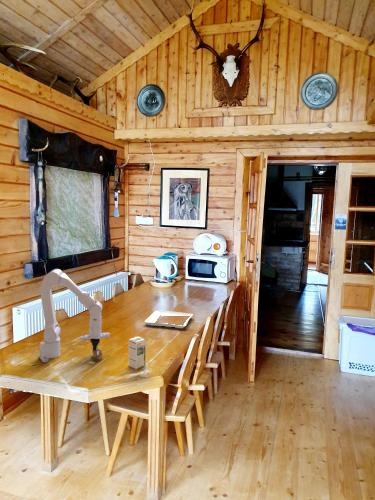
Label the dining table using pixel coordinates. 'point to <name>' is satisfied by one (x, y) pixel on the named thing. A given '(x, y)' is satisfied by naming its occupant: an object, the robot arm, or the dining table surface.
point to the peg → (97, 354)
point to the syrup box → (137, 352)
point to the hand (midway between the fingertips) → (94, 352)
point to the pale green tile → (91, 362)
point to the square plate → (156, 314)
